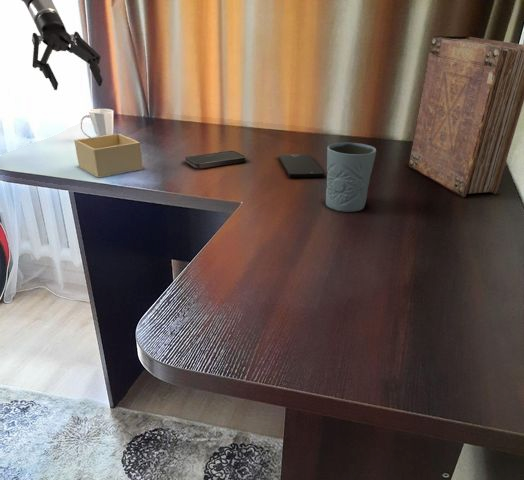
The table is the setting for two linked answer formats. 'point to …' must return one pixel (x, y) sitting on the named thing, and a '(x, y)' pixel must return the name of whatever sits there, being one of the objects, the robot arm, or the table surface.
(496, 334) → the table surface
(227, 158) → the phone
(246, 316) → the table surface
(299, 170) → the cell phone
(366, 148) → the grey embossed tumbler
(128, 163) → the tan open box
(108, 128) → the cup
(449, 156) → the book
